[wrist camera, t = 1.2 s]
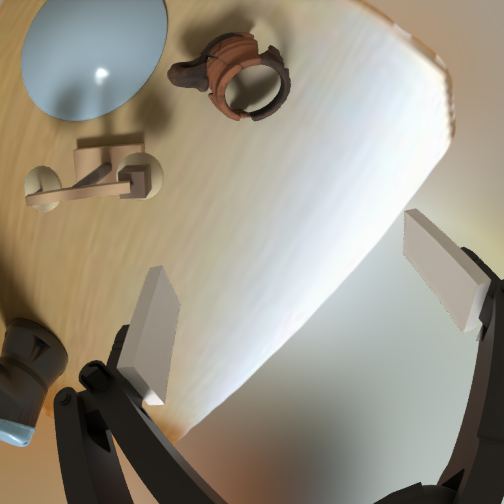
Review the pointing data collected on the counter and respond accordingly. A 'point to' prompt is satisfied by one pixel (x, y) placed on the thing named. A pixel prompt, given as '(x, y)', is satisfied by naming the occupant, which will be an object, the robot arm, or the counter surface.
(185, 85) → the pottery mug
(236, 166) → the counter surface
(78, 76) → the plate
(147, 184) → the balance
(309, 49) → the counter surface
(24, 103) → the counter surface
